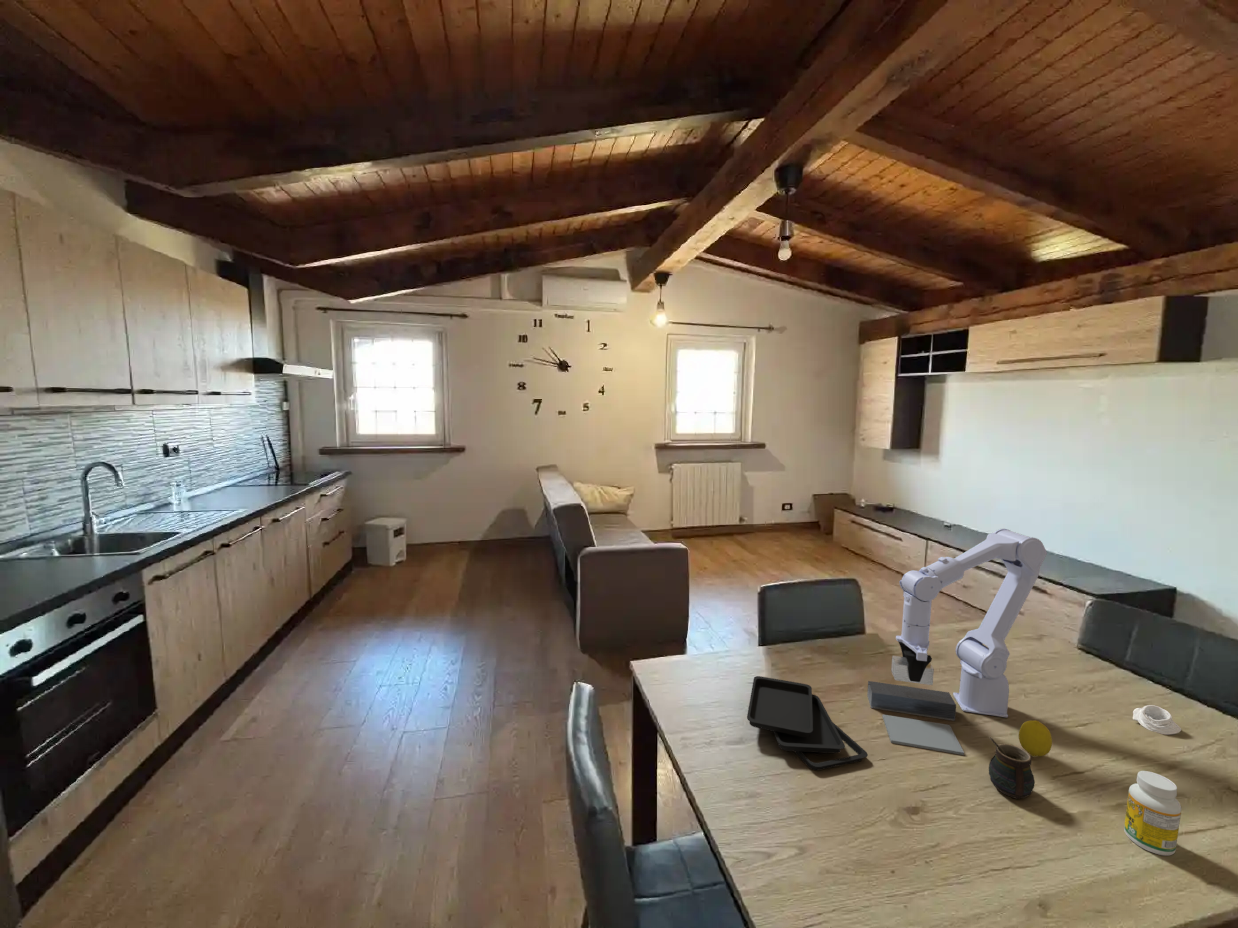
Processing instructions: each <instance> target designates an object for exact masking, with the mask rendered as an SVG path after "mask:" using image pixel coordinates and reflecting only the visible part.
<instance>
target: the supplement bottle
mask: <svg viewBox="0 0 1238 928" xmlns="http://www.w3.org/2000/svg"><path fill="white" fill-rule="evenodd" d="M1177 796H1178V787H1177V785H1176V784H1175V783H1174V782H1173V781H1172V780H1170V779H1169V778H1167V777H1165V776H1164V775H1161V774H1159V773H1156V772H1152V771H1147V770H1140V771H1138V772H1137V775H1136V783H1133V784H1131V785H1129V788H1128V793H1127V800H1126V801H1127V802H1126V807H1125V808H1126V809H1125V810H1126V811H1125V815H1124V816H1125V817H1124V826H1123V831H1124V833H1125V834H1126V836H1127V837H1128V838H1129V840H1131V841H1132V842H1133V843H1134V844H1135V845H1137V846H1139V848H1141V849H1143V850H1146V851H1148V852H1150V853H1153V854H1156V855H1159V856H1172V855H1174V854H1175V852H1176V850H1177V845H1178V837H1179V829H1180V823H1181V817H1182V806H1181V804H1180V802H1179V800H1178V799H1177Z"/></svg>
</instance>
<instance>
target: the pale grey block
mask: <svg viewBox="0 0 1238 928" xmlns="http://www.w3.org/2000/svg"><path fill="white" fill-rule="evenodd" d="M931 663H932V662H930V663H929V664H928V665H927V667H926V668H925V670H924V673H923V675H922V678H921V681H920V682H914V681H910V679H909V673H908V663H907V659H906V657H903V656H898V655H892V656H891V669H890V670H891V674H892V676H893V678H894V680H895V681H898V682H907V683H915V684H921V685H929V686H933V684H934V672H935V669H934V667H933V665H932V664H931Z"/></svg>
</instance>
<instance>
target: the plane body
mask: <svg viewBox="0 0 1238 928" xmlns="http://www.w3.org/2000/svg"><path fill="white" fill-rule="evenodd" d="M867 683H868V684H867V695H866V696H867V699H868V703H869V706H870V708H871V709H875V710H883V711H889V712H895V713H902V714H908V715H915V716H920V717H921V716H922V717H926V718H933V719H934V718H935V719H940V720H945V721H951V722H955V721H956V711H957V704H956V702H955V700H954V699H953V696H952V695H951V693H950V692H948V691H940V690H936V689H927V688H920V687H913V686H906V685H899V684H891V683H884V682H880V681H879V682H878V681H871V680H868V682H867Z"/></svg>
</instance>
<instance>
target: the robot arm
mask: <svg viewBox="0 0 1238 928" xmlns="http://www.w3.org/2000/svg"><path fill="white" fill-rule="evenodd" d="M1047 555H1048V552H1047V550H1046V548H1045V545H1044V543H1043V542H1042V540H1040V539H1039V538H1037V537H1033V536H1032V537H1031V536H1028V535H1025V534H1021V533H1019V532H1016V531H1011V529H1007V528H999V529H996V530H995V531H994V532H990V533H988V534H987V536H986V539H985V540H983V541H981V542H980V543H978V544H976V545H974V546H973V547H971V548H969V549H968V550H966V551H965V552H963V553H961V554H959V555H957V556H956V557H955V558H953V557H950V556H945V557H944V556H940V557H938V558H937V561H935V562H933V563H931V564H929V565H927V566H923V567H921V568H920V569H919V570H914V569H912V570H909V571H907V572H906V573H904V574H903V576H902V578H901V579H900V580H899V586H900V589H901V590H902V592H903V595H902V597H903V608H902V623H901V634H900V635H895V640H896V641H897V642H898V644H899V647H900V650H901V654H902V656H901V657H906V659H907V663H908V673H909V679H910V681H914V682H920V681H921V678H922V675H923V673H924V670H925V668H926V667H927V665H928V664H929V663H932V660H933V658H932V656H931V654H930V655H929V654H928V650H929V647H930V641H929V640H930V639H929V638H930V629H931V628H930V627H931V615H932V601H933V600H935V599H936V598H937V596H938V595H939V592H940V591H942V590H943V589H944V588H945V587H947V586H950V585H952V584H954V583H955V582H957V581H959V580H962V579H963V578H964V575H965V574H964V573H965V572H966V571H969V570H970V569H973V568H975V567H977V566H980V565H982V564H984V563H987V562H989V561H992V560H994V559H999V560H1000V561H1002V562H1003V565H1004V566H1005V568H1006V570H1007V573H1006V575H1005V577H1004V579H1003V581H1002V583H1001V584H1000V586H999V588H998V590H997V592H996V594H995V596H994V599H992V602H991V604H990V606H989V608H988V609H987V612H986V614H985V616H984V617H983V619H982V621H981V623H980V625H979V627H978V628H976V629H975V628H974V629H972V630H968V631H967V632H966V634H965V636H964V637H963V638H962V639H960V640H959V641H958V642H957V644H956V645H955V654H956V657H957V658H958V659H959V661H960V662H959V663H960V665H961V668H960V669H961V670H960V680H959V681H960V682H959V692H953V693H952V695H953V697H954V699H955V701H956V702H957V703H958V705H959V706H960V709H961V710H962V711H963V712H967V713H968V712H969V713H973V714H979V715H989V716H995V717H1000V718H1001V717H1002V718H1008V717H1009V715H1008V707H1009V706H1008V704H1009V694H1010V687H1009V684H1010V683H1009V681H1008V678H1007V676H1006V675H1005V671H1006V669H1007V665H1008V659H1009V656H1010V654H1011V653H1010V651H1009V649H1008V646H1007V645H1006V642H1005V640H1006V638H1007V637H1008V634H1009V633H1010V631H1011V629H1012V627H1013V625H1014V624H1015V621H1016V619H1017V618H1018V615H1019V613H1020V612H1021V610H1022V608H1023V607H1024V604H1025V603H1026V600H1027V598H1028V596H1029V595H1030V592H1031V591H1032V589H1033V587H1034V585H1035V583H1036V581H1037V580H1038V578H1039V574H1040V569H1041V566H1042V564H1043V563H1044V560H1045V559H1046V557H1047Z"/></svg>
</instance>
